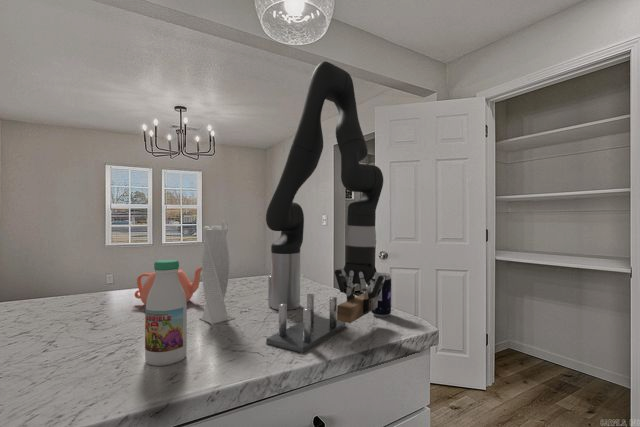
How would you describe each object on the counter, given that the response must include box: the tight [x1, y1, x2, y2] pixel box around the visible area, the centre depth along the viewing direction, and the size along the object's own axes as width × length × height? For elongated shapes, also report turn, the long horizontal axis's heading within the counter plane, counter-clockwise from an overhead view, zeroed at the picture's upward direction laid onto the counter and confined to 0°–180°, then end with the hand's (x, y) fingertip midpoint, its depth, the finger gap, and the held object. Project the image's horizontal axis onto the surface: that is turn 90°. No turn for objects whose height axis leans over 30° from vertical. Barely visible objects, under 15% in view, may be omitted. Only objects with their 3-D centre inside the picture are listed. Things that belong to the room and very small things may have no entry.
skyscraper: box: [199, 219, 236, 326], centre depth 95 cm, size 8×8×28 cm
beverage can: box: [370, 272, 392, 318], centre depth 101 cm, size 6×6×12 cm
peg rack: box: [265, 293, 347, 354], centre depth 84 cm, size 10×20×8 cm, turn 149°
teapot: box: [134, 266, 202, 306], centre depth 112 cm, size 22×16×12 cm
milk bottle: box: [144, 259, 188, 367], centre depth 70 cm, size 8×8×20 cm
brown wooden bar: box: [337, 293, 378, 324], centre depth 86 cm, size 16×4×4 cm, turn 148°
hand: (358, 311), depth 86 cm, fingers closed on brown wooden bar, 3 cm apart
